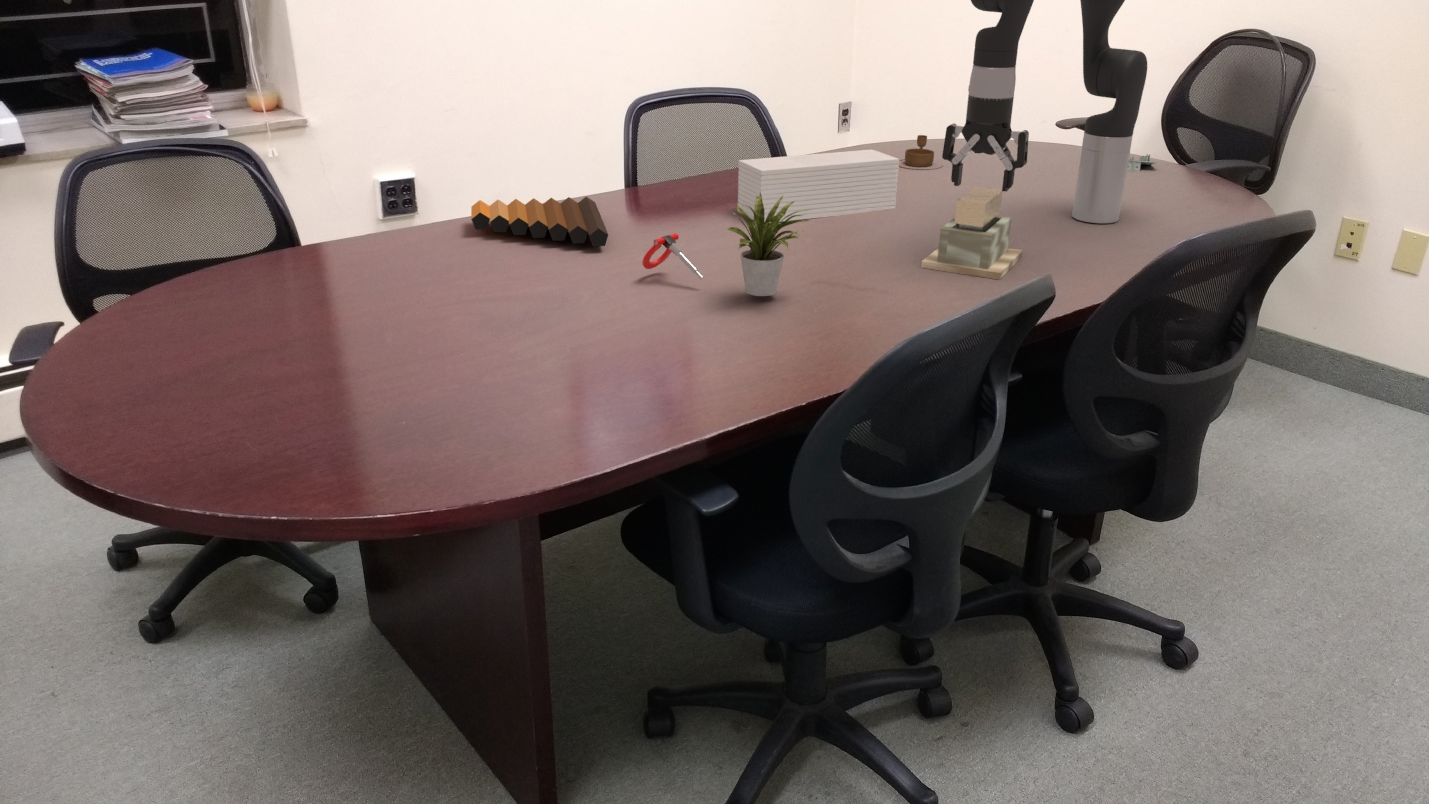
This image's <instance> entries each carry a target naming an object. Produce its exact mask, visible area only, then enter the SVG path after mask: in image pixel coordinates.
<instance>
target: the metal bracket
mask: <svg viewBox="0 0 1429 804" xmlns="http://www.w3.org/2000/svg"><path fill="white" fill-rule="evenodd" d="M1135 158H1136V156H1132V157H1131V158H1129V161H1128V167H1127V172H1129V171H1130V172H1131V173H1135V172H1141V165H1142V166H1143V165H1144V166H1145V165H1146V166H1152V165H1154V164H1155V165H1156V164H1157V163H1158V161H1151V154H1146V155H1142V156H1140V157H1139V160H1135Z"/></svg>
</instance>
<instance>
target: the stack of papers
mask: <svg viewBox="0 0 1429 804" xmlns="http://www.w3.org/2000/svg"><path fill="white" fill-rule="evenodd" d="M899 160H900V158H897V157H895V156H892V155H889V154H886V153H884V152H882V151H878V150H876V149H862V150H861V149H860V150H848V151H838V152H836V151H835V152H826V153H825V152H824V153H822V152H821V153H812V154H810V153H809V154H801V155H800V154H799V155H788V156H787V155H785V156H774V157H773V156H772V157H763V158H761V157H760V158H750V159H739V160H738V170H737V171H738V181H737V186H738V187H737V192H738V193H737V205H738V206H740V207H741V208H742V209H743V210H744V211H745V213H746V214H747V215H748V216H749V217H750V219H751V220H752V221H754V214H753V212H752V210H751V209H750V208H749V207H748V206H750V207H751V208H752V209H753V210H754V211H755V200H756V197H757V196H758V197H759V196H760V192H761V195H762V202H763V206H764V217H765V220H766V218H767V216H768V214H769V212H770V210H771V209H772V208H773V206H774V205H775V204H776V202H777V201H778V200H779V199H780V198H781V197H782V196H783V198H782V200H781V202H780V204H779V206H778V208H777V210H776V212H775V215H777V214H778V212H779V211H780V210H781V209H782V208H783V207H784V206H785V205H787V204H789V203H791V202H793V201H795V202H794V203H793V204H792V205H791V206H789V207H788V209H787V211H786V213H785V215H784V216H783V217H782V218H781V220H782V219H783V218H785V217H786V216H787V215H789V214H791V213H794V212H796V211H801V210H808V211H802V212H798V213H795V214H792V215H790V216H789V217H791V216H794V215H801V216H795V217H793V218H791V219H789V220H788V221H793V220H811V219H819V218H821V219H822V218H828V217H837V216H845V215H853V214H861V213H867V212H876V211H883V210H884V211H885V210H891V209H896V206H897V205H896V204H897V201H896V200H897V194H898V193H897V191H898V183H899V181H898V179H899V178H898V177H899V168H900V167H899V166H900V161H899ZM745 205H747V206H745ZM737 213H740V212H739V210H738V209H737ZM775 215H774V216H775ZM789 217H787V218H785V219H784V220H783V221H781V220H780V221H781V222H780V221H779V222H780V223H783V222H785V221H786V220H787V219H788V218H789ZM779 222H778V223H779Z"/></svg>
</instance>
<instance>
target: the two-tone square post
mask: <svg viewBox="0 0 1429 804" xmlns="http://www.w3.org/2000/svg"><path fill="white" fill-rule="evenodd" d="M1003 193H1004V191H1002V189H998V188H990V187H989V188H988V187H982V186H981V187H980V186H974V187H973V188H972V189H970V190H969V191H968V192H966V193H965V194H963V195H962V196H961V197H959V198H958V199H957V200H956V206H955V214H954V218H955V222H954V223H957V224H959V229H964V230H972V231H979V232H986V231H988V230H989V229H990V228H991V227H992V226H993V225H994V221H995V216H998V215H999V214H1000V213H1001V209H1002V201H1003Z"/></svg>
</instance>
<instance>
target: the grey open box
mask: <svg viewBox="0 0 1429 804" xmlns="http://www.w3.org/2000/svg"><path fill="white" fill-rule="evenodd" d="M1012 221H1013V218H1012V217H1011V216H1009V217H1008V216H1002V215H996V216H995V221H994V225H993V226H992V227H991V228H990V229H989V230H988V231H986V232H979V231H972V230H964V229H959V224H957V223H954V222H955V217H953V218H952V219H951V220H950V221H948V222H947V223H946V224H944V225H943V226H942V227H940V230H939V241H938V247H937V248H936V249H935V250H933V251H932V252H931V253H930V254H928V255H927V256H926V257H925V258H924V259H922V261H921V266H920V267H921V268H922V269H928V270H935V271H940V272H946V273H947V272H948V273H953V274H961V275H966V276H973V277H974V276H975V277H980V278H987V279H990V280H992V279H993V280H1000V281H1001V279H1003V277H1004V276H1005V275H1006V274H1007V273H1008V272H1009V271H1010V270H1011V269H1012V268H1013V266H1015V264H1017V262H1019V260H1020V259H1021V258H1022V257H1023V249H1017V248H1009V243H1010V235H1011V229H1012V228H1011V227H1012Z"/></svg>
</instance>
